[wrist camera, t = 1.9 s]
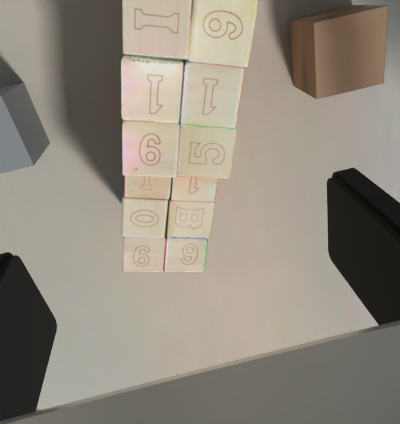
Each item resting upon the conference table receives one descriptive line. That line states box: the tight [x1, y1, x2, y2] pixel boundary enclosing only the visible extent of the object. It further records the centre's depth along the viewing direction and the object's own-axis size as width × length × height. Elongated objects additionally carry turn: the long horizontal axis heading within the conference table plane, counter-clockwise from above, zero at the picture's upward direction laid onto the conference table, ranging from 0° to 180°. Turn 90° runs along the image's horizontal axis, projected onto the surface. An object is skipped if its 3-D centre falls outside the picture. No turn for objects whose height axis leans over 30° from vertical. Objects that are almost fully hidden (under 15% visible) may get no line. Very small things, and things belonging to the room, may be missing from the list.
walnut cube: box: [289, 5, 388, 99], centre depth 27 cm, size 5×5×5 cm
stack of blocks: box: [121, 0, 258, 272], centre depth 25 cm, size 21×6×12 cm, turn 173°
